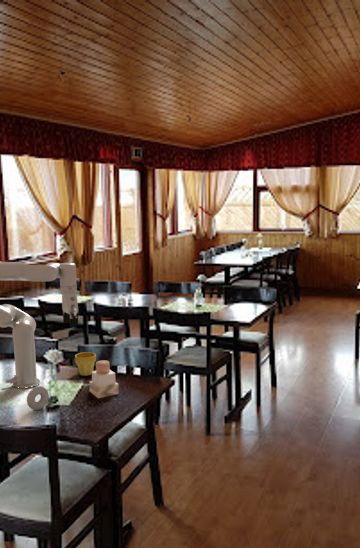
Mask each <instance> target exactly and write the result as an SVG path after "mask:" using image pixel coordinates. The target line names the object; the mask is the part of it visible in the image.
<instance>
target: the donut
mask: <svg viewBox="0 0 360 548" xmlns="http://www.w3.org/2000/svg"><path fill="white" fill-rule="evenodd" d="M38 395H40V398H39V400H38V401H36V397H37V396H38ZM49 398H50V393H49V391H48V389H47V388H45V387H44V386H39V385H38V386H35V387H32V389H31V390H30V391H29V392H28V394H27V396H26V403H27V406H28V407H29V409H31V410H32V411H33V410H34V411H40V410H42V409H43V408H44V407H45V406H46V405H47V404H48V402H49Z"/></svg>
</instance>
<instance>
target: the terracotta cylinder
mask: <svg viewBox="0 0 360 548" xmlns="http://www.w3.org/2000/svg"><path fill="white" fill-rule="evenodd" d="M110 370H111V369H110V361H109V360H98V361H97V360H96V361H95V371H96V373H98V374H107V373H109V372H110Z"/></svg>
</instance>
